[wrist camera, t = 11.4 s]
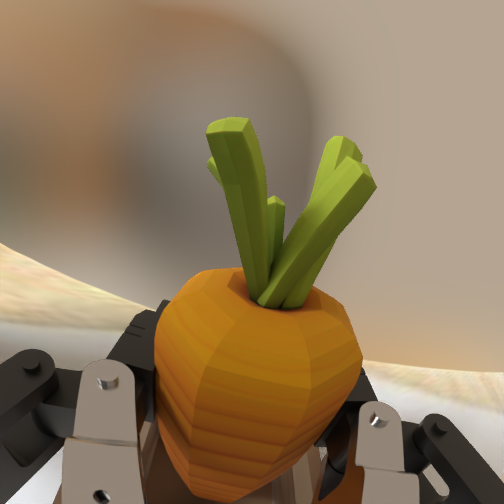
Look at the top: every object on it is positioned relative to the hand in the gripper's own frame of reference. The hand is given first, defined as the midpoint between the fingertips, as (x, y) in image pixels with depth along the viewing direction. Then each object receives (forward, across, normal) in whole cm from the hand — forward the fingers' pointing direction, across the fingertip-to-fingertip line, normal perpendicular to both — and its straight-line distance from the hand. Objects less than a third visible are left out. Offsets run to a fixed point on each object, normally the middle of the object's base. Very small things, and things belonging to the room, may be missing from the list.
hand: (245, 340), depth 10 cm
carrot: (-3, 0, +8) cm, 9 cm away
